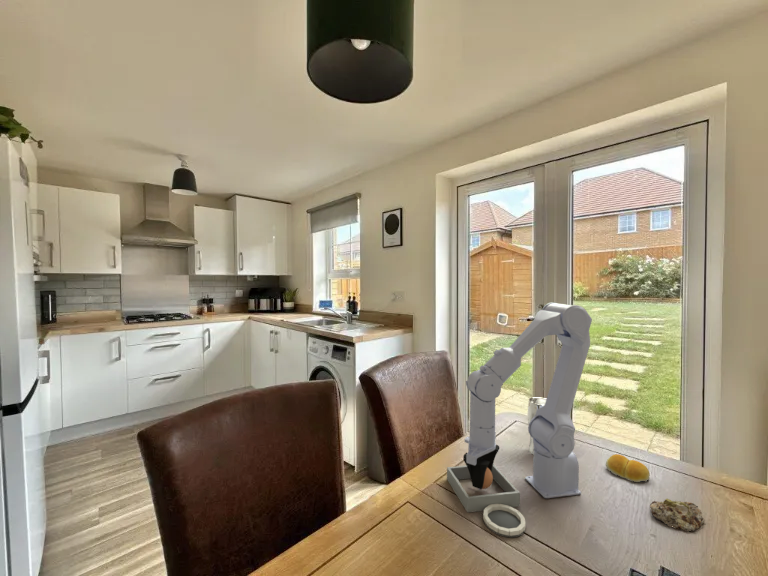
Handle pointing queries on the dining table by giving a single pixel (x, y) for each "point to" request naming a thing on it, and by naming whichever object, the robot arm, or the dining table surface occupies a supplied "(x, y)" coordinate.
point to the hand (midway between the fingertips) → (481, 481)
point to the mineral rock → (678, 514)
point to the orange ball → (487, 479)
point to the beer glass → (532, 408)
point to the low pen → (482, 501)
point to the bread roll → (627, 468)
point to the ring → (504, 520)
